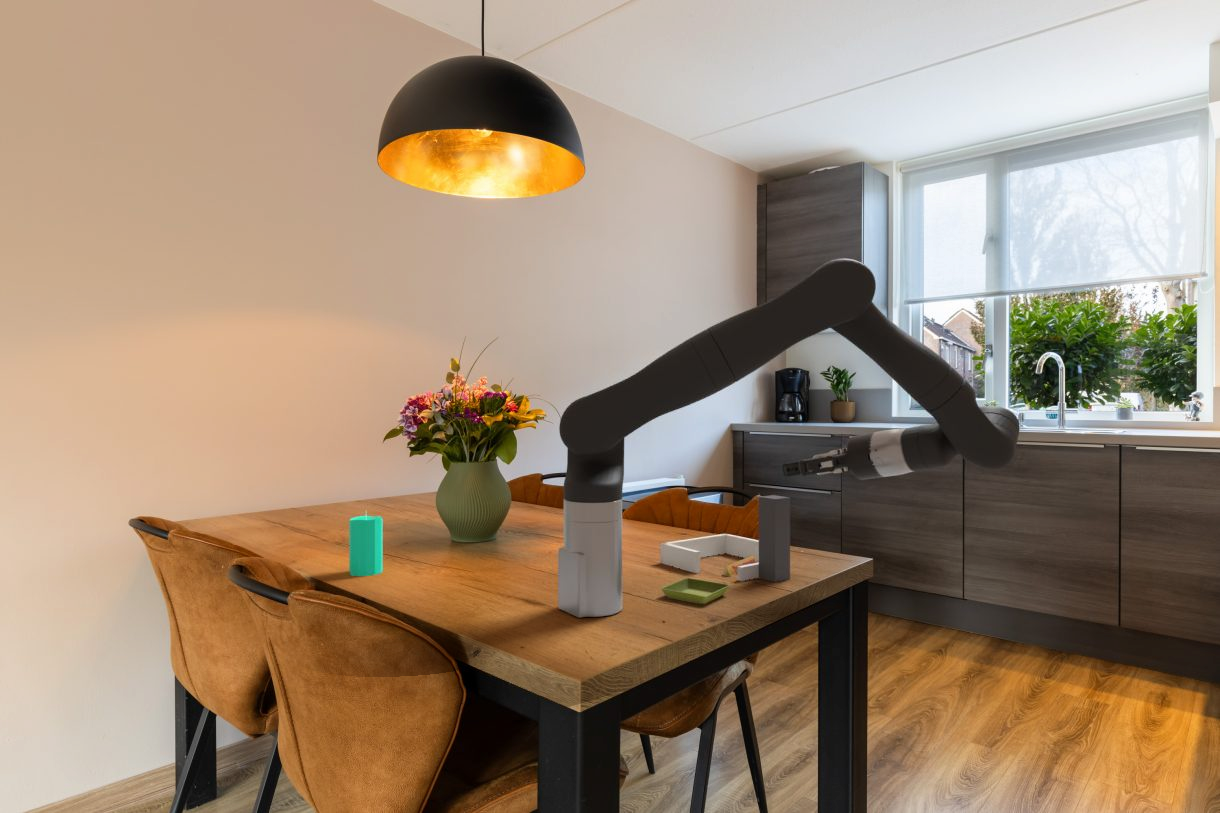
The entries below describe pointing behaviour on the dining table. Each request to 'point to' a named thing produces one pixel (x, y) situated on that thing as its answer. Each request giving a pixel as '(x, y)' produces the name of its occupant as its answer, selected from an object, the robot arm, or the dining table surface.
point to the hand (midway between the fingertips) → (795, 467)
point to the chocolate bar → (733, 568)
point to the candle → (365, 545)
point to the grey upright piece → (771, 541)
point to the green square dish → (695, 590)
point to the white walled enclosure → (706, 550)
